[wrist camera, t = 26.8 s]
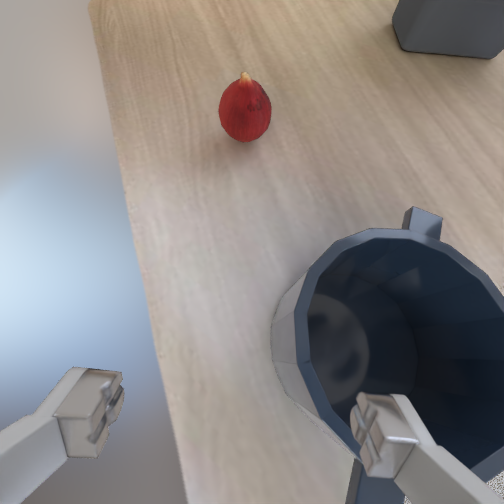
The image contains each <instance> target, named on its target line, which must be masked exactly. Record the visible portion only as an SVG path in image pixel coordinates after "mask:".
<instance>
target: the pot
mask: <svg viewBox="0 0 504 504" xmlns="http://www.w3.org/2000/svg"><path fill="white" fill-rule="evenodd" d="M442 220H443V218H442V217H440V216H437V215H435V214H432V213H430V212H427V211H424V210H422V209H419V208H417V207H414V206H412V207H411V208H410V209H409V210H407V211H406V212H405V215H404V220H403V224H402V229H382V228H369V229H367V230H364V231H361V232H359V233H356V234H353V235H351V236H348V237H345V238H343V239H340V240H337V241H336V242H334V243H333V244H332V245H331V246H330V247H329V248H328V249H327V250H326V251H325V252H324V253H323V255H322V256H321V257H320V258H319V259H318V260H317V261H316V262H315V263H314V264H313V265H312V266H311V267H310V268H309V269H308V270H307V271H306V272H305V273H304V274H303V275H302V276H301V277H300V279H299V280H298V281H297V282H296V283H295V284H294V285H293V286H292V287H291V288H290V289H289V290H288V291H287V292H286V293H285V294H284V295H283V297H282V298H281V301H280V303H279V306H278V308H277V310H276V312H275V316H274V319H273V322H272V326H271V352H272V361H273V364H274V367H275V370H276V373H277V376H278V378H279V380H280V382H281V384H282V386H283V388H284V391H285V393H286V395H287V396H288V397H289V398H290V399H291V400H292V401H293V402H294V404H295V405H296V406H297V407H298V408H299V409H300V410H301V411H302V412H303V413H304V414H305V415H306V416H307V418H308V419H309V420H310V421H311V422H312V423H314V424H315V425H316V426H317V427H318V428H320V429H321V430H322V431H323V432H324V433H326V434H327V435H328V436H329V437H330V438H332V439H333V440H334V441H335V442H336V443H337V444H339V445H340V446H341V447H342V448H343V449H345V450H346V451H347V452H348V453H349V454H351V455H352V456H353V457H354V463H353V468H352V473H351V478H350V482H349V487H348V492H347V497H346V502H345V504H404V499H405V494H404V493H403V492H402V491H401V489H400V488H399V487H398V486H397V484H396V483H395V482H394V480H395V479H385V478H375V477H368V476H367V473H366V470H365V468H364V465H363V462H362V459H361V456H360V453H359V452H360V449H361V445H360V444H359V443H358V442H357V441H356V440H355V438H354V436H353V433H352V430H351V425H350V413H351V410H352V407H354V406H355V405H357V404H358V402H357V400H356V398H357V395H358V393H360V392H361V391H362V392H377V393H388V394H399V395H405V396H406V397H407V398H408V399H409V401H410V402H411V404H412V406H413V407H414V409H415V411H416V412H417V414H418V415H419V417H420V419H421V420H422V422H423V424H424V425H425V427H426V428H427V430H428V432H429V433H430V435H431V436H432V438H433V440H434V441H435V443H436V445H437V446H442V447H443V448H445V449H446V450H447V451H448V452H449V453H450V454H452V455H453V456H454V457H455V458H456V459H457V460H459V461H460V462H461V463H462V464H463V465H465V466H466V467H467V468H468V469H469V470H470V471H472V472H473V473H474V474H475V475H476V476H477V477H479V478H480V479H481V480H482V481H483V482H485V483H487V482H488V481H490V480H491V479H492V478H494V477H495V476H497V475H498V474H499V473H501V472H502V471H504V296H503V295H502V294H501V292H500V291H499V290H498V288H497V287H496V286H495V284H494V283H493V282H492V280H491V279H490V278H489V276H488V275H487V274H486V273H485V272H484V271H482V270H481V269H480V268H479V267H477V266H476V265H475V264H474V263H472V262H471V261H470V260H468V259H467V258H466V257H465V256H463V255H462V254H461V253H459V252H458V251H457V250H456V249H454V248H453V247H452V246H450V245H448V244H446V243H443V242H441V241H440V235H441V228H442Z"/></svg>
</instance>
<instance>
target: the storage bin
mask: <svg viewBox="0 0 504 504" xmlns="http://www.w3.org/2000/svg"><path fill="white" fill-rule="evenodd" d="M392 23H393V26H394V28H395V31H396V34H397V37H398V40H399V42H400V45H401V47H402V48H403V49H404V50H406V51H413V52H424V53H436V54H447V55H457V56H466V57H475V58H485V59H491V58H494V57H496V56H497V55H498V54H499V53H500V52H501V51H502V50H503V49H504V0H399V3H398V5H397V8H396V10H395V12H394V15H393V17H392Z"/></svg>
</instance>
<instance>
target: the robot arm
mask: <svg viewBox="0 0 504 504" xmlns="http://www.w3.org/2000/svg"><path fill="white" fill-rule="evenodd" d="M122 380H123V378H122V372H117V371H109V370H100V369H90V368H80V367H72V368H71V369H70V370H68V371H67V372H66V374H65V375H64V376H63V377H62V378H61V380H60V381H59V382H58V383H57V385H56V386H55V387H54V388H53V390H52V391H51V392H50V393H49V395H48V396H47V397H46V398H45V399H44V401H43V402H42V403H41V404H40V406H39V407H38V408H37V409H36V411H35V412H34V413H33V414H32V415H26V416H24V417H23V418H21V419H20V420H18V421H16V422H14V423H13V424H11V425H10V426H8V427H6V428H5V429H3V430H1V431H0V504H20V503H21V502H22V501H23V500H24V499H26V497H28V496H29V495H30V494H31V493H32V492H33V491H34V490H35V489H36V488H37V487H39V485H41V484H42V483H43V482H44V481H45V480H46V479H47V478H48V477H49V476H50V475H51V474H52V473H54V472H55V471H56V470H57V469H58V468H59V467H60V466H61V465H62V464H63V463H64V462H66V461H67V460H68V458H67V457H72V458H98V457H99V454H100V453H101V450H102V448H103V446H104V444H105V442H106V440H107V438H108V436H109V430H108V426H110V425H111V424H112V423H113V422H115V421H116V420H117V418H118V415H119V413H120V411H121V408H122V405H123V401H124V389H123V388H122V386H121V385H120V383H121V382H122ZM356 400H357V402H358V404H357V405H355V406H354V407H352V410H351V413H350V425H351V430H352V433H353V436H354V438H355V440H356V441H357V442H358V443H359V444H360V445H361V449H360V452H359V453H360V456H361V459H362V462H363V465H364V468H365V470H366V473H367V476H368V477H375V478H385V479H395V480H394V482H395V483H396V484H397V486H398V487H399V488H400V489H401V491H402V492H403V493H404V494H405V496H406V497H407V498H408V499H409V501H410V502H411V503H412V504H504V499H503V498H502V497H501V496H500V495H499V494H497V493H496V492H495V491H494V490H493V489H492V488H490V487H489V486H488V485H487V484H486V483H485V482H483V481H482V480H481V479H480V478H479V477H477V476H476V475H475V474H474V473H473V472H472V471H470V470H469V469H468V468H467V467H466V466H465V465H463V464H462V463H461V462H460V461H459V460H457V459H456V458H455V457H454V456H453V455H452V454H450V453H449V452H448V451H447V450H446V449H445V448H443V447H442V446H437V445H436V443H435V441H434V440H433V438H432V436H431V435H430V433H429V432H428V430H427V428H426V427H425V425H424V424H423V422H422V420H421V419H420V417H419V415H418V414H417V412H416V411H415V409H414V407H413V406H412V404H411V402H410V401H409V399H408V398H407V397H406V396H405V395H399V394H388V393H377V392H362V391H361V392H360V393H358V395H357V398H356Z"/></svg>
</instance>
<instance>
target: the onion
mask: <svg viewBox="0 0 504 504" xmlns="http://www.w3.org/2000/svg"><path fill="white" fill-rule="evenodd" d="M218 112H219V117H220V121H221V125H222V127H223V128H224V129H225V131H226V132H227V133H228V134H229V136H231V137H232V138H234V139H236V140H238V141H241V142H250V141H252V140H255V139H257V138H259V137H260V136H261V135H262V134H263V133H264V132H265V131H266V130H267V129H268V126H269V123H270V118H271V103H270V100H269V98H268V96H267V94H266V93H265V91H264V90H263V88H262V87H261V85H260V84H259V83H257V82H256V81H254V80H252V79H251V78H250V76H249V74H248V73H246V72H242V73H241V79H238V80H236V81H234V82H233V83H231V84H230V85H229V87H228V88H227V89H226V90H225V91H224V93H223V95H222V97H221V101H220V105H219V111H218Z"/></svg>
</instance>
